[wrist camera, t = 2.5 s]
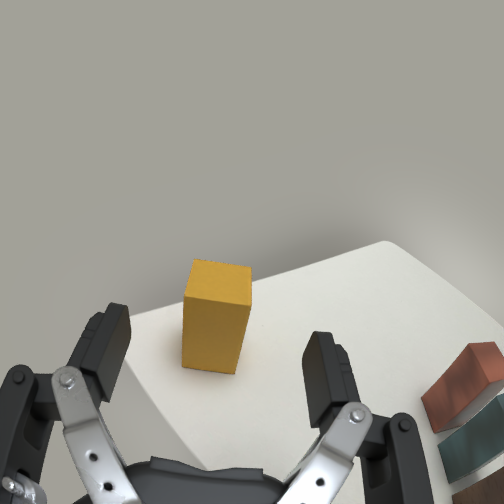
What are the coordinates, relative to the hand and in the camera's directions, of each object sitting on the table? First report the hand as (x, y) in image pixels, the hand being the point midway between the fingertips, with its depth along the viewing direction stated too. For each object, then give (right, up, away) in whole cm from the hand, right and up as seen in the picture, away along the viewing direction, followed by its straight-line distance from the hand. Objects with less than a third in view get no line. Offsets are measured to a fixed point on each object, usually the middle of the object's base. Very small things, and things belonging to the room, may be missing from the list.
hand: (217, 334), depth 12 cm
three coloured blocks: (+23, -18, +6) cm, 29 cm away
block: (-3, -6, +16) cm, 17 cm away
